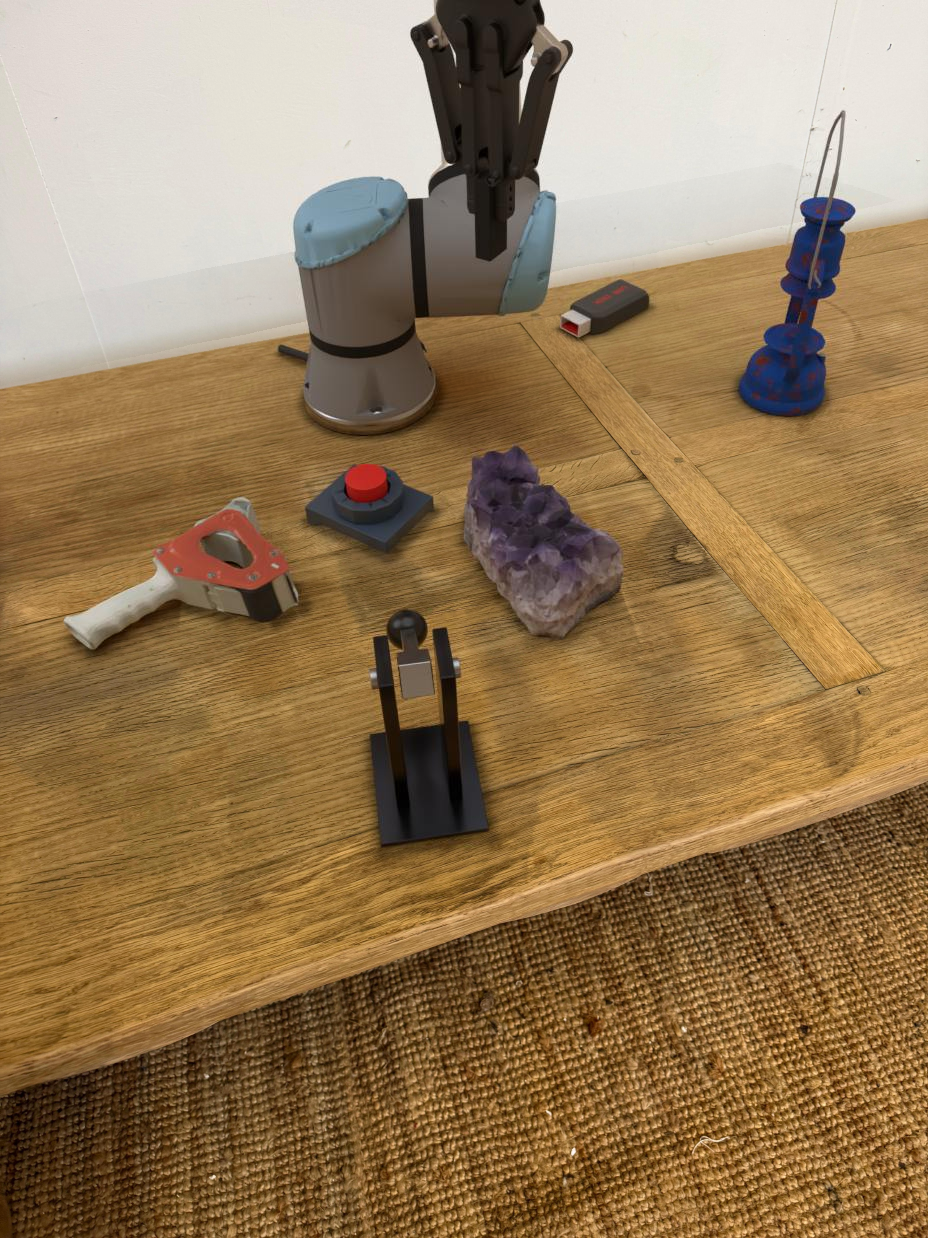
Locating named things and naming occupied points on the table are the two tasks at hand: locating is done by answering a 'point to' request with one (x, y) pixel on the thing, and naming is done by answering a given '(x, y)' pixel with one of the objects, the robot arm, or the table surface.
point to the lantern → (801, 309)
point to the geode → (537, 545)
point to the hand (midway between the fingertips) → (491, 252)
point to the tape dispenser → (202, 577)
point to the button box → (371, 512)
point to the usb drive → (604, 308)
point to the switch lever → (411, 653)
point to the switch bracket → (424, 760)
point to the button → (366, 483)
